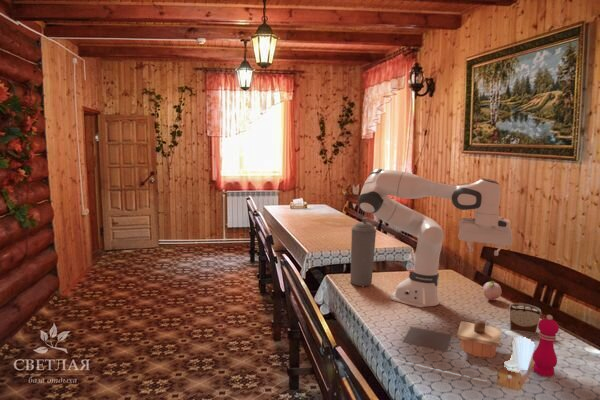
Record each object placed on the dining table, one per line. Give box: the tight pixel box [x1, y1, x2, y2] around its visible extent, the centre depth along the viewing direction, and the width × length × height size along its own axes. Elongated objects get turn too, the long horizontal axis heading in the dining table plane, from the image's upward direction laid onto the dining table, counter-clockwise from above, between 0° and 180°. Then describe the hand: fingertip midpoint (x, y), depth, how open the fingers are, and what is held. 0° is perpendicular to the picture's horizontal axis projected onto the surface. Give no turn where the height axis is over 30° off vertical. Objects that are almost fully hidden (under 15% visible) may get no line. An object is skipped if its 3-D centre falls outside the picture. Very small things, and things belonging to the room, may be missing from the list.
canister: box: [350, 217, 377, 287], centre depth 237 cm, size 13×13×35 cm
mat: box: [402, 326, 453, 353], centre depth 175 cm, size 16×16×1 cm
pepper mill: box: [532, 314, 560, 377], centre depth 152 cm, size 7×7×20 cm
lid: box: [456, 319, 502, 348], centre depth 166 cm, size 14×14×5 cm
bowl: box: [459, 339, 497, 359], centre depth 167 cm, size 12×12×6 cm
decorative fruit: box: [482, 280, 503, 301], centre depth 220 cm, size 9×8×10 cm
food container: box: [507, 302, 543, 335], centre depth 187 cm, size 12×6×10 cm, turn 71°
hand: (483, 253), depth 183 cm, fingers open, 8 cm apart
